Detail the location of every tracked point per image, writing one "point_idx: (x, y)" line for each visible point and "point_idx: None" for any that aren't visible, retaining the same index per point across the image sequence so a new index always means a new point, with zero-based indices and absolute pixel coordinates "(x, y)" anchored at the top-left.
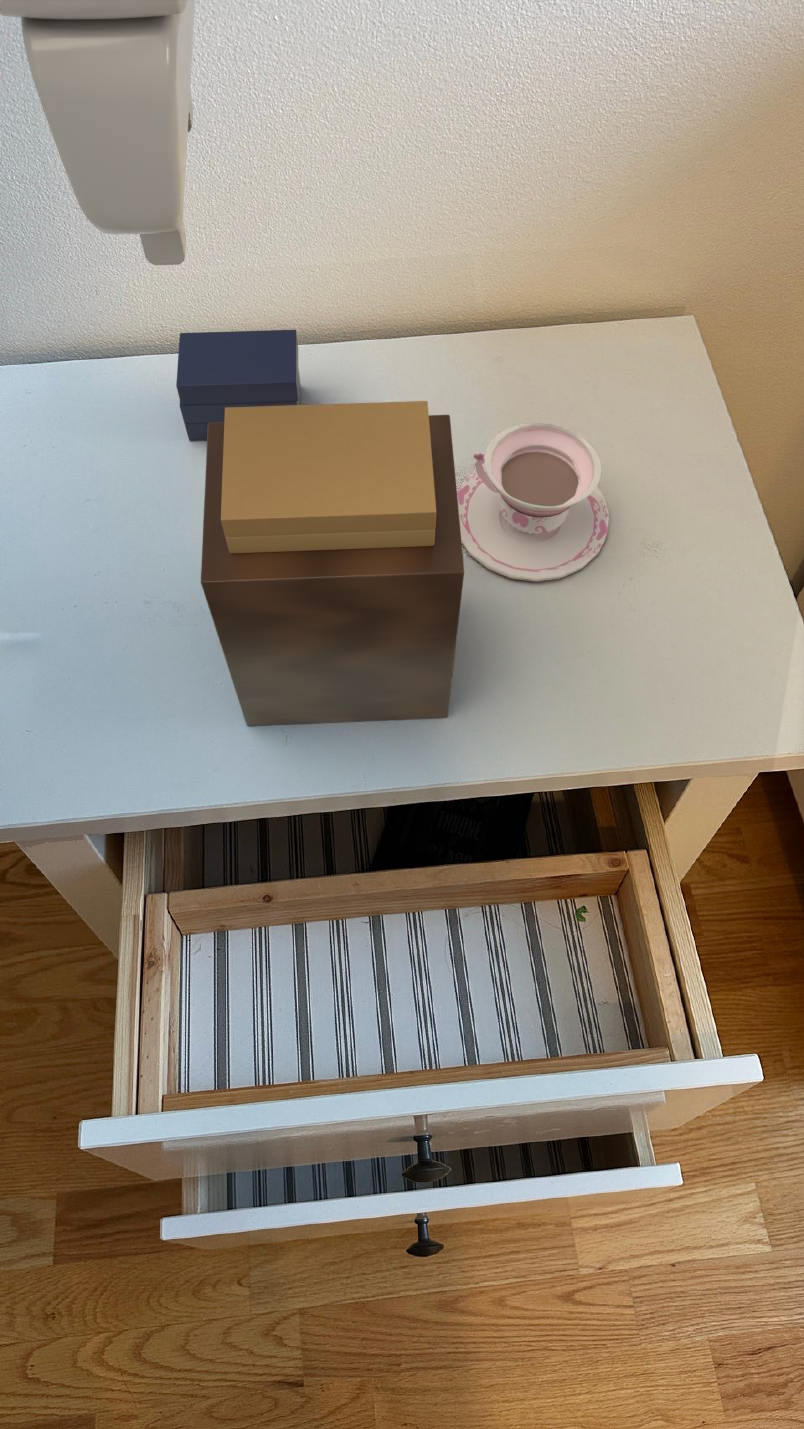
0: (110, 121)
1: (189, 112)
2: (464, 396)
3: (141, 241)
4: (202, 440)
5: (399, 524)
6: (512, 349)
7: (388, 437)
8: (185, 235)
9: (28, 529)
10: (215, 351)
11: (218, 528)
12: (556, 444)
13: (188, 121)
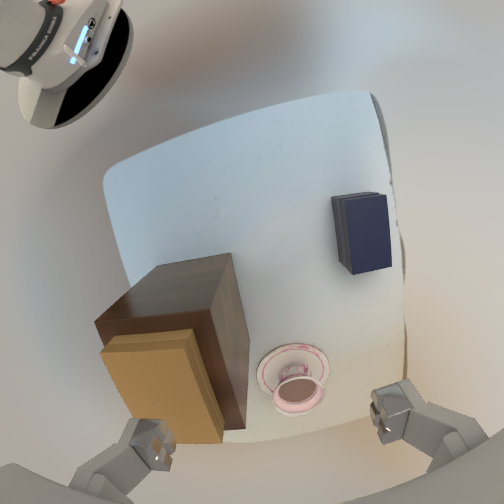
0: None
1: (377, 432)
2: (366, 336)
3: (123, 433)
4: (332, 204)
5: None
6: (393, 350)
7: (188, 429)
8: (175, 447)
9: (255, 119)
10: (373, 220)
11: (127, 327)
12: (316, 395)
13: (374, 422)
